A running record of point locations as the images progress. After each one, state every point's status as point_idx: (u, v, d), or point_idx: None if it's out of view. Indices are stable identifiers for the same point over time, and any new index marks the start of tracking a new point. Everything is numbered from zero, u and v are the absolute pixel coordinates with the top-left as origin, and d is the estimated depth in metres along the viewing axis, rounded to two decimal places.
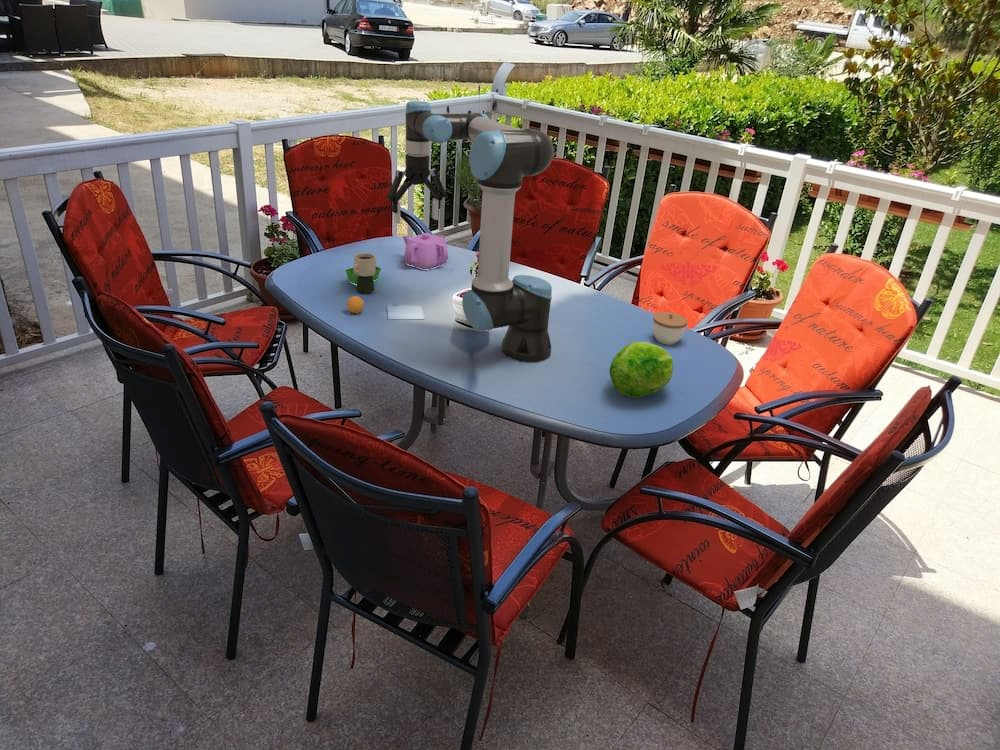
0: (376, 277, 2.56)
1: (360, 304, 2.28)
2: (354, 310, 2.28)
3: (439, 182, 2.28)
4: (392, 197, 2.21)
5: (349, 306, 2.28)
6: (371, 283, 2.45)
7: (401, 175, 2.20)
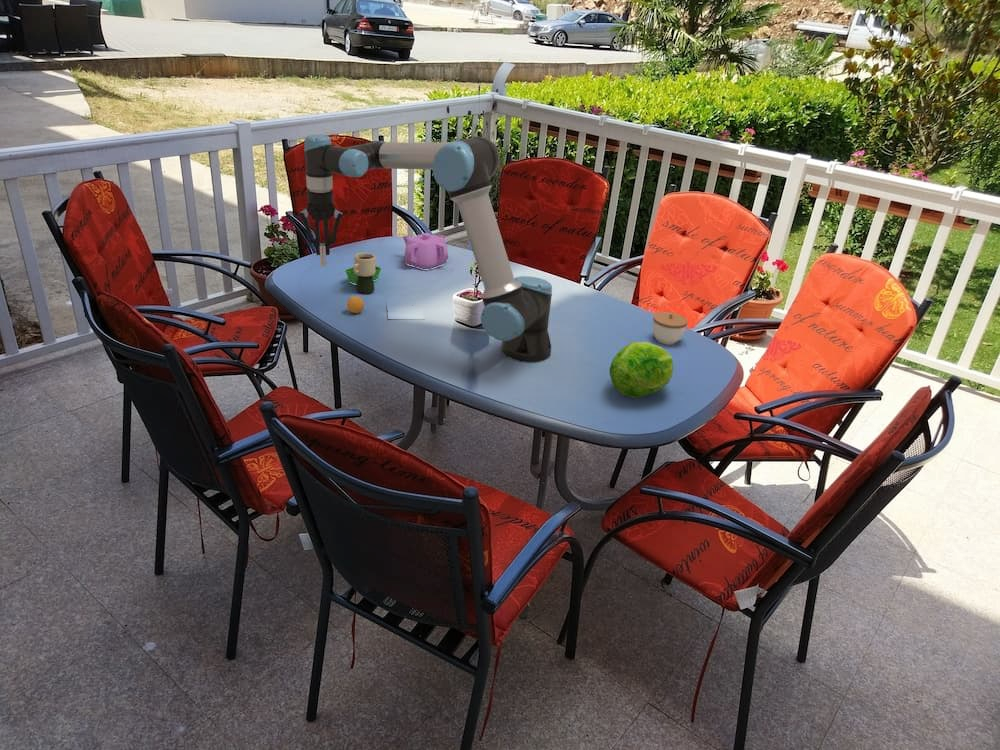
0: (376, 277, 2.56)
1: (360, 304, 2.28)
2: (354, 310, 2.28)
3: (336, 227, 2.16)
4: (310, 239, 2.16)
5: (349, 306, 2.28)
6: (371, 283, 2.45)
7: (303, 216, 2.12)
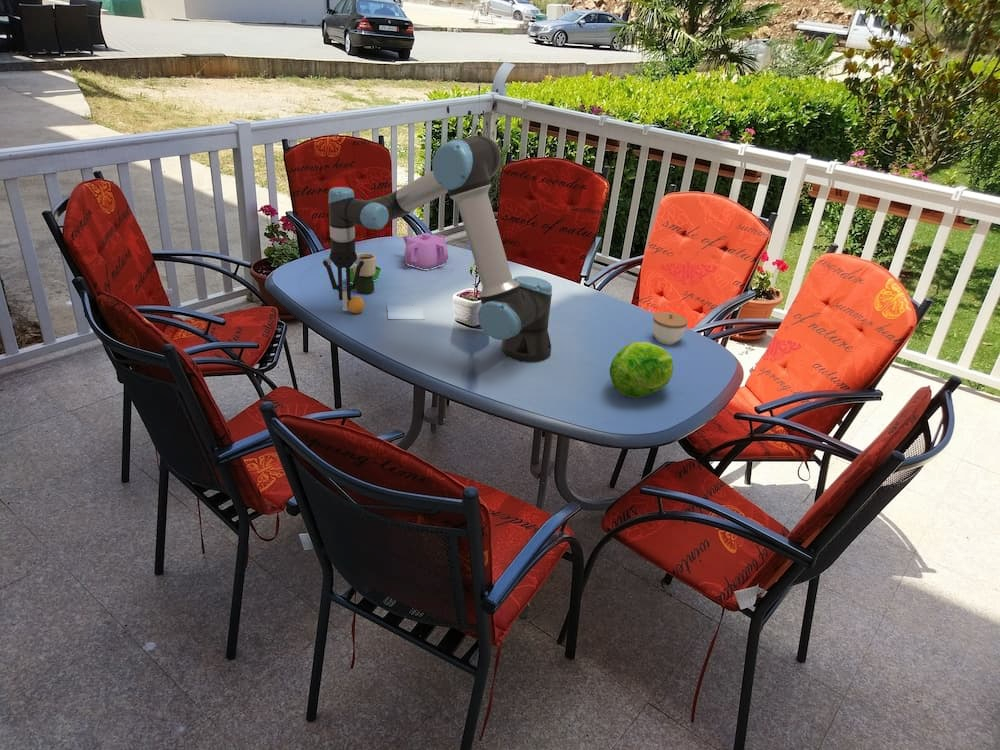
0: (376, 277, 2.56)
1: (361, 305, 2.28)
2: (354, 310, 2.28)
3: (357, 273, 2.24)
4: (334, 285, 2.24)
5: (350, 306, 2.28)
6: (371, 283, 2.45)
7: (326, 264, 2.20)
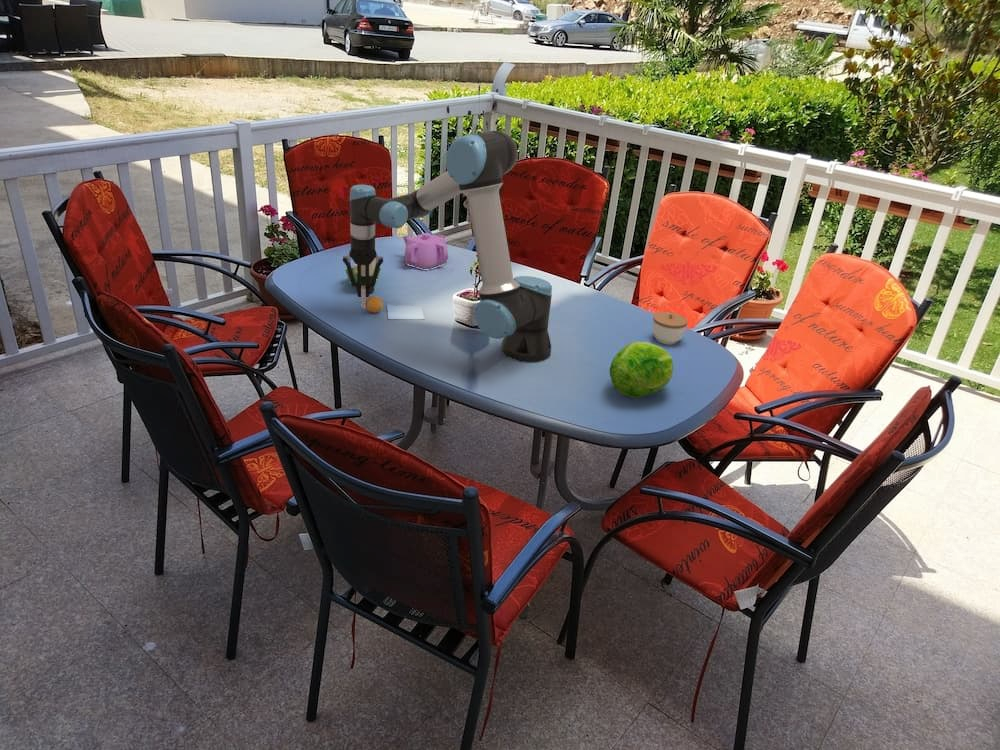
0: None
1: (379, 309, 2.30)
2: (370, 308, 2.29)
3: (376, 271, 2.25)
4: (353, 282, 2.25)
5: (370, 301, 2.29)
6: None
7: (346, 261, 2.21)
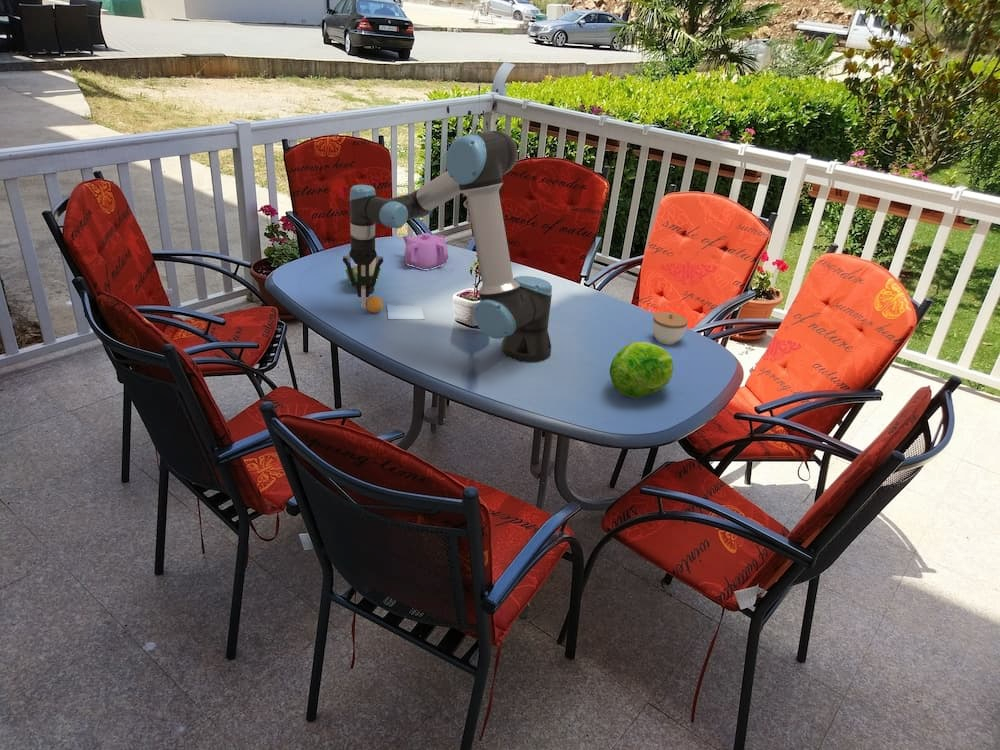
0: None
1: (379, 309, 2.30)
2: (370, 308, 2.29)
3: (376, 271, 2.25)
4: (353, 282, 2.25)
5: (370, 301, 2.29)
6: None
7: (346, 261, 2.21)
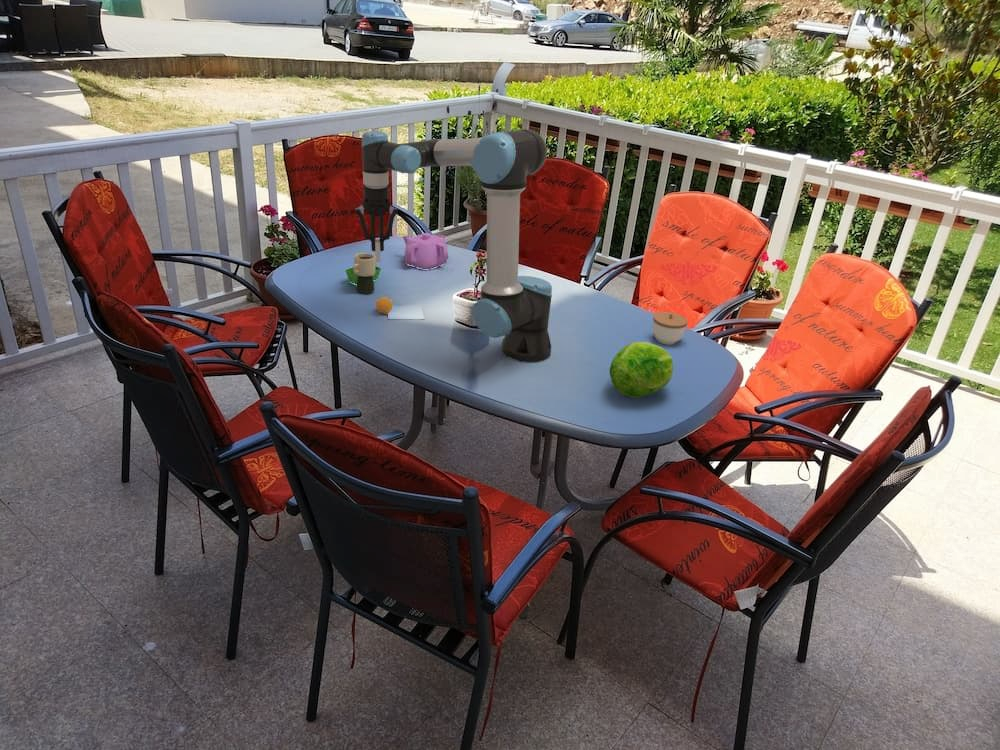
0: (376, 277, 2.56)
1: (383, 313, 2.31)
2: (381, 307, 2.29)
3: (391, 222, 2.17)
4: (366, 235, 2.18)
5: (387, 304, 2.29)
6: (371, 283, 2.45)
7: (359, 212, 2.14)
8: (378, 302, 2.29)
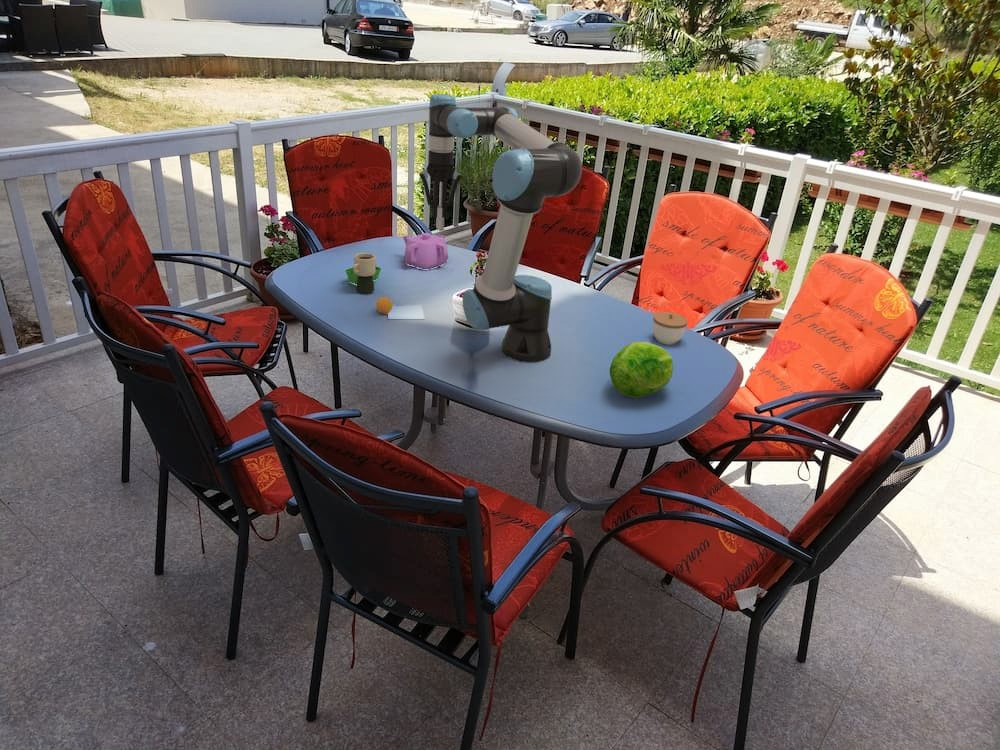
0: (376, 277, 2.56)
1: (383, 313, 2.31)
2: (381, 307, 2.29)
3: (454, 188, 2.15)
4: (429, 200, 2.15)
5: (387, 304, 2.29)
6: (371, 283, 2.45)
7: (423, 177, 2.12)
8: (378, 302, 2.29)
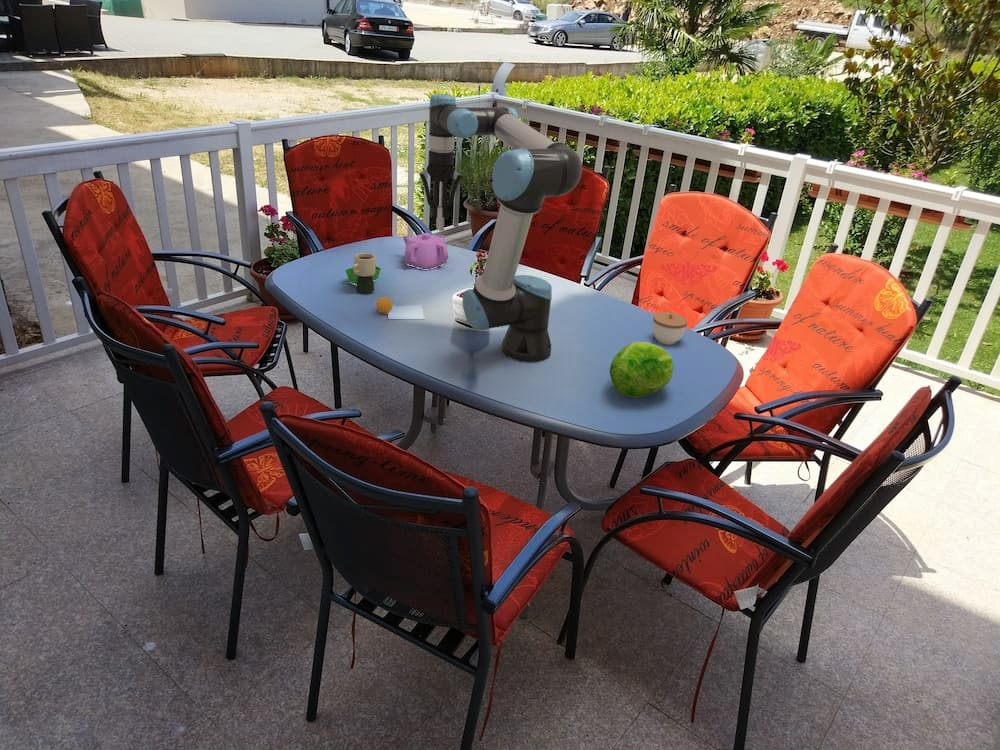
0: (376, 277, 2.56)
1: (383, 313, 2.31)
2: (381, 307, 2.29)
3: (454, 188, 2.15)
4: (429, 200, 2.15)
5: (387, 304, 2.29)
6: (371, 283, 2.45)
7: (423, 177, 2.12)
8: (378, 302, 2.29)
